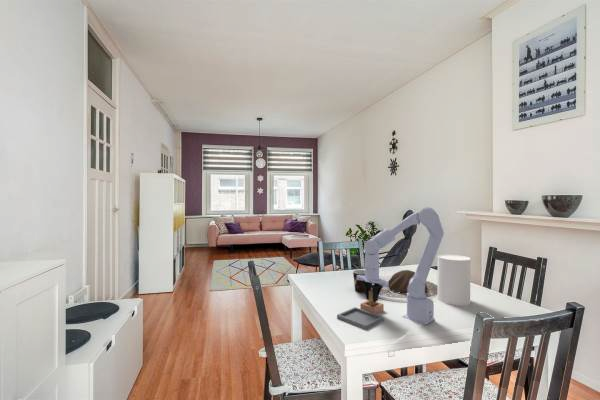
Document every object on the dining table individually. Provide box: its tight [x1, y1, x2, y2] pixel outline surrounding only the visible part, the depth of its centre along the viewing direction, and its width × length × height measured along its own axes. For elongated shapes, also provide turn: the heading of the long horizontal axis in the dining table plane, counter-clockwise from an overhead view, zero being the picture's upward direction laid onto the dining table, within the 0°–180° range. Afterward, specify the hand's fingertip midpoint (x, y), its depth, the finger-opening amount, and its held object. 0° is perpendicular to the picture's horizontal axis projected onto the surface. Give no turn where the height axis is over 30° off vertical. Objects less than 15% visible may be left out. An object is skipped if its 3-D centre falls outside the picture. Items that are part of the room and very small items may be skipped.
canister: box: [436, 253, 471, 307], centre depth 138 cm, size 14×14×20 cm
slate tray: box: [336, 306, 385, 330], centre depth 117 cm, size 14×12×2 cm
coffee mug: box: [352, 269, 365, 294], centre depth 152 cm, size 12×9×10 cm
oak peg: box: [369, 289, 375, 307], centre depth 125 cm, size 3×3×8 cm
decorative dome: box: [387, 269, 428, 294], centre depth 155 cm, size 19×20×10 cm
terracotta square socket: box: [359, 300, 384, 315], centre depth 126 cm, size 7×7×3 cm
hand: (372, 300), depth 125 cm, fingers closed on oak peg, 3 cm apart
